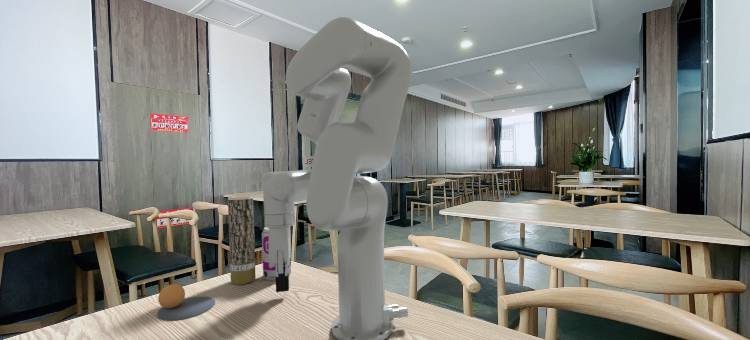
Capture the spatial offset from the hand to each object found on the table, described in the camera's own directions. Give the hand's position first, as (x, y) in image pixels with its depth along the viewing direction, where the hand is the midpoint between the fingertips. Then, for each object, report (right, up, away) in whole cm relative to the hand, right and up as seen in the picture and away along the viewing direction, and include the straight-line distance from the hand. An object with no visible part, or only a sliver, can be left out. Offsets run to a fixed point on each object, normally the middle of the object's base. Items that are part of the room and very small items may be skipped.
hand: (282, 290), depth 81 cm
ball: (-26, 0, -4) cm, 26 cm away
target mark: (-22, -2, -5) cm, 22 cm away
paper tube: (-15, -2, +12) cm, 19 cm away
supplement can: (-6, -2, +15) cm, 17 cm away
